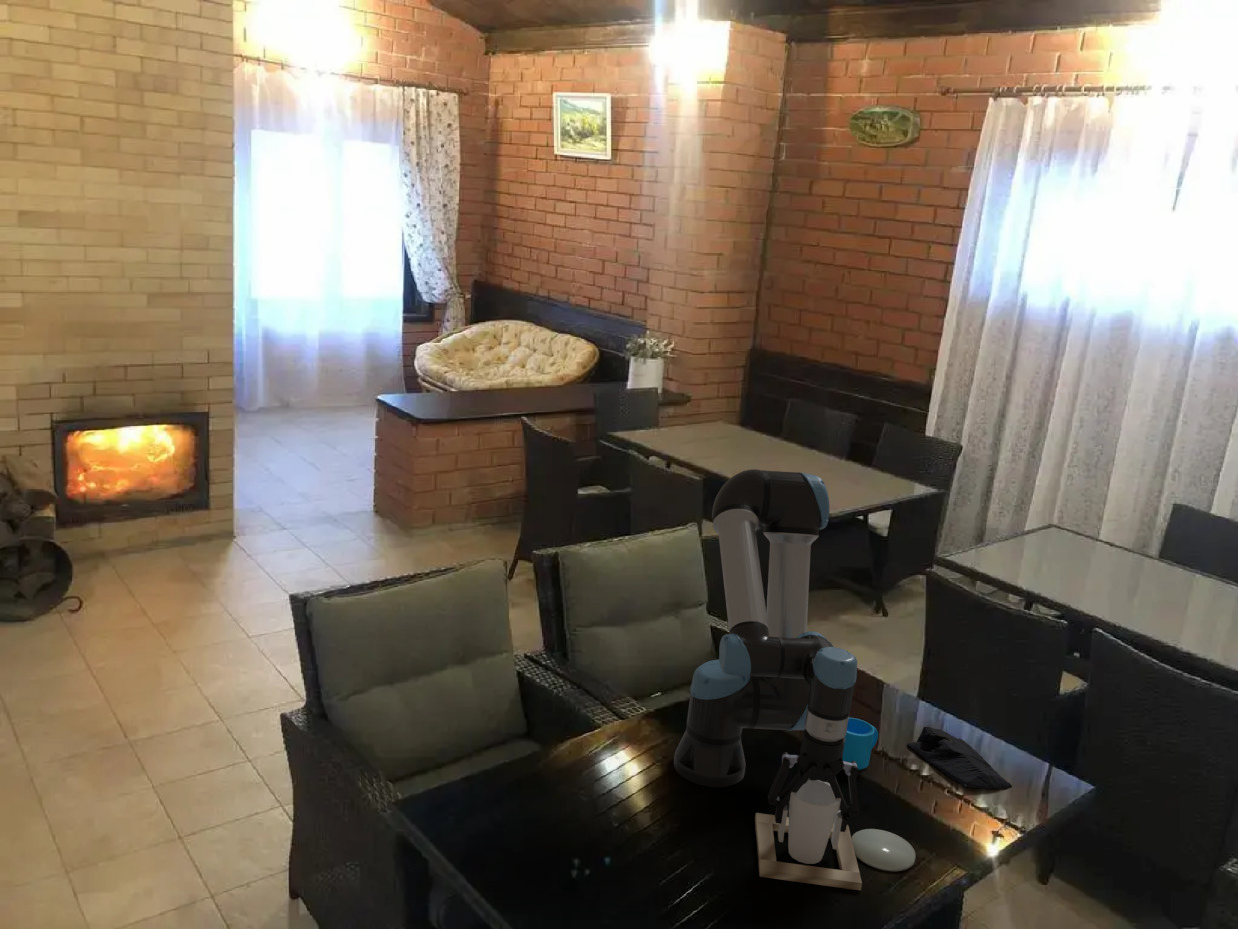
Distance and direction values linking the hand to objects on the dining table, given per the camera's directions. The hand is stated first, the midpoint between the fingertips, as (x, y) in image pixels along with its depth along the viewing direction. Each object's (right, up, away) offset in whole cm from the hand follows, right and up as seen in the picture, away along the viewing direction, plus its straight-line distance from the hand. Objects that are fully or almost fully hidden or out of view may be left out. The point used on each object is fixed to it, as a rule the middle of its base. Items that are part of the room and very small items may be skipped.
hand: (807, 841), depth 191 cm
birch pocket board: (0, -2, +1) cm, 3 cm away
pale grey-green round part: (+15, -3, +4) cm, 16 cm away
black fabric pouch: (+41, +2, +39) cm, 57 cm away
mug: (+18, +5, +38) cm, 42 cm away
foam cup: (0, -3, +1) cm, 3 cm away
